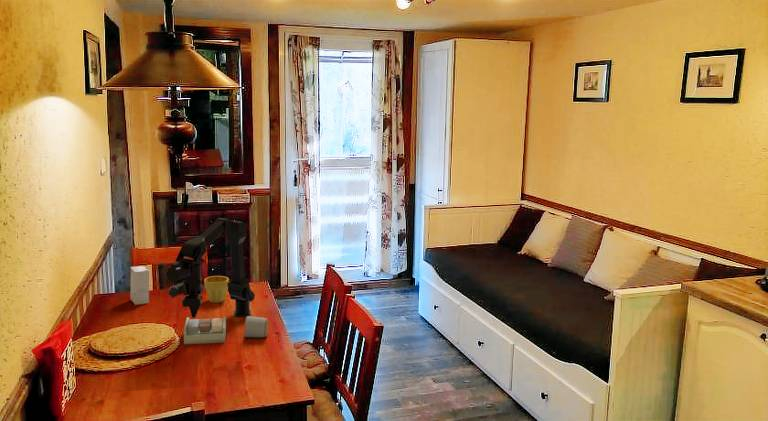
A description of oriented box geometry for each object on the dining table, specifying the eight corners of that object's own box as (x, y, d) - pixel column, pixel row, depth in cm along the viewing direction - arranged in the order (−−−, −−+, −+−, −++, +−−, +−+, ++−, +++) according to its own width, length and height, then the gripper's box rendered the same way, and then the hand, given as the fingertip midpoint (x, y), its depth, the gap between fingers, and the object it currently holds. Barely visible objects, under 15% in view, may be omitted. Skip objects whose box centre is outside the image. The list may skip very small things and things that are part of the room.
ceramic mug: (266, 340, 221) (266, 320, 219) (243, 340, 220) (244, 320, 219) (270, 330, 231) (270, 311, 230) (248, 330, 230) (248, 310, 229)
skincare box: (130, 300, 259) (129, 266, 257) (144, 297, 263) (143, 265, 260) (135, 305, 253) (134, 271, 250) (150, 303, 256) (149, 269, 254)
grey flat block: (189, 325, 224) (189, 319, 223) (199, 324, 225) (199, 319, 224) (187, 333, 216) (187, 327, 216) (198, 332, 217) (197, 326, 217)
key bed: (187, 331, 227) (186, 317, 226) (225, 329, 230) (225, 315, 229) (184, 344, 214) (183, 329, 213) (224, 342, 217) (224, 327, 216)
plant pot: (218, 305, 256) (217, 283, 255) (199, 301, 261) (199, 279, 259) (233, 299, 266) (233, 277, 264) (215, 295, 270) (215, 274, 268)
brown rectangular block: (201, 324, 225) (201, 318, 224) (211, 324, 226) (211, 318, 225) (199, 332, 217) (199, 326, 217) (210, 332, 218) (210, 326, 218)
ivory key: (212, 324, 226) (212, 318, 225) (222, 323, 227) (222, 318, 226) (211, 332, 218) (211, 326, 218) (221, 331, 219) (221, 325, 219)
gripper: (172, 270, 224) (173, 309, 227) (166, 284, 206) (167, 327, 209) (203, 269, 227) (203, 308, 229) (200, 283, 209) (200, 326, 212)
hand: (193, 317), depth 220 cm, fingers closed
